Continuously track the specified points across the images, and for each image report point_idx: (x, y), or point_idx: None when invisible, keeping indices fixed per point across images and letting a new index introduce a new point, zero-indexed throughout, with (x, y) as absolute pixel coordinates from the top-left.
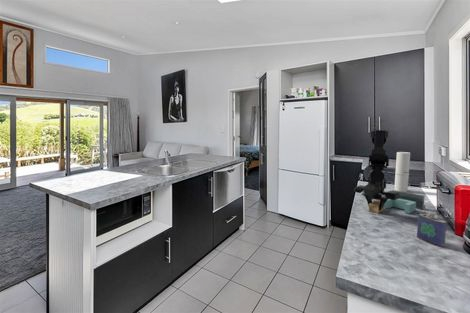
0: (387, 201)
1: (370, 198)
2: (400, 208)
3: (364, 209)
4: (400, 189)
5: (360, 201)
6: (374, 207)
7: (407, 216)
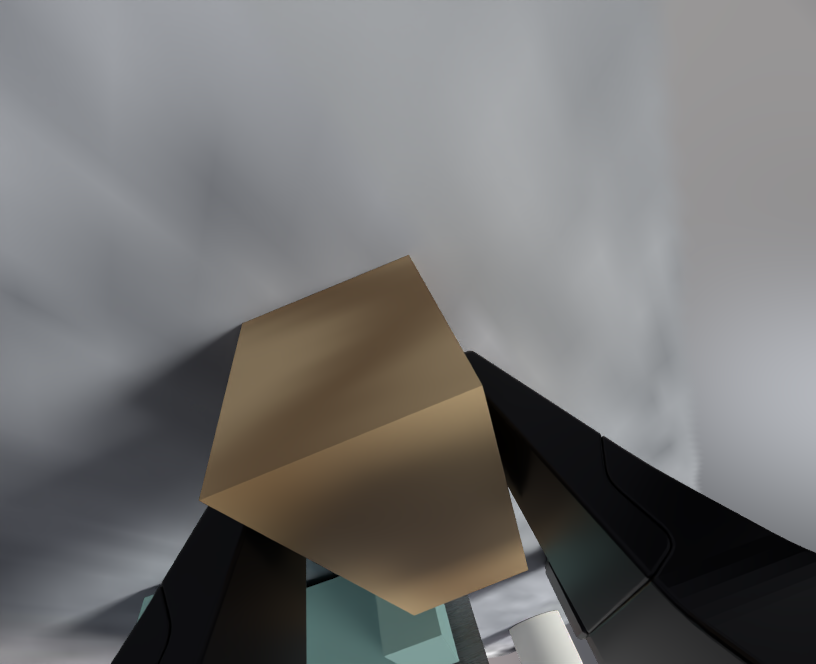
0: (392, 626)
1: (600, 591)
2: (320, 583)
3: (522, 274)
4: (534, 633)
5: (661, 431)
6: (307, 382)
7: (48, 565)
